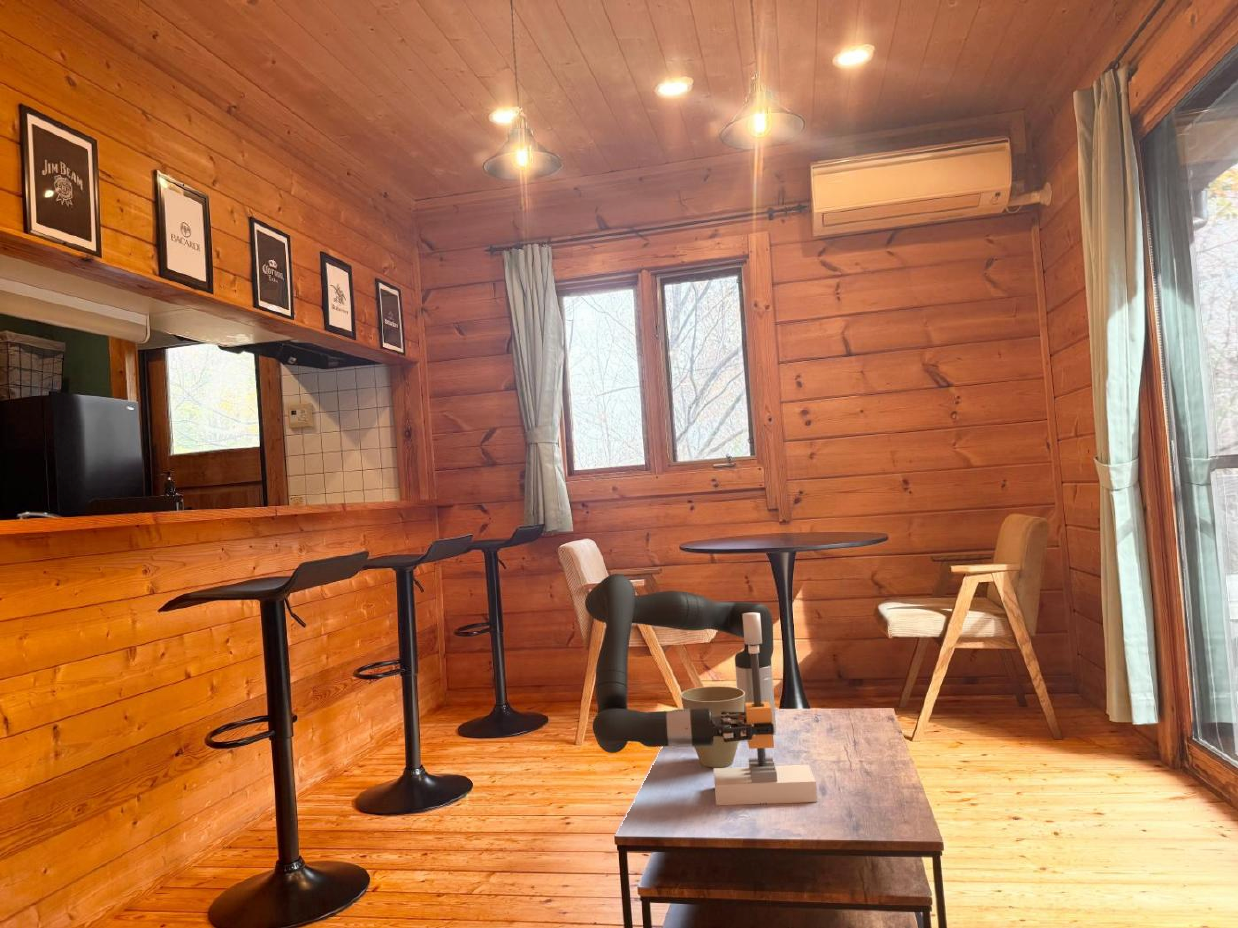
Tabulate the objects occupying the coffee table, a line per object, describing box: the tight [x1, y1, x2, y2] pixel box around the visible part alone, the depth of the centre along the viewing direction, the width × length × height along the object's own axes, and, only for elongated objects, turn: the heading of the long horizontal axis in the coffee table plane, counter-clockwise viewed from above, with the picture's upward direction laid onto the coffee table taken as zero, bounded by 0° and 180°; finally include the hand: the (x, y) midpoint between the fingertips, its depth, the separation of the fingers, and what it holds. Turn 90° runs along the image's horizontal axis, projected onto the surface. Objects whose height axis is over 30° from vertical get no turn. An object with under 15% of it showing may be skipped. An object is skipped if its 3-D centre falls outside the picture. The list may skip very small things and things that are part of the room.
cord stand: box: [713, 612, 818, 806], centre depth 173 cm, size 10×20×37 cm, turn 85°
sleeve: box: [745, 702, 775, 750], centre depth 173 cm, size 5×5×8 cm
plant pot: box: [680, 685, 745, 768], centre depth 194 cm, size 15×15×16 cm
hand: (771, 724), depth 172 cm, fingers closed on sleeve, 5 cm apart
